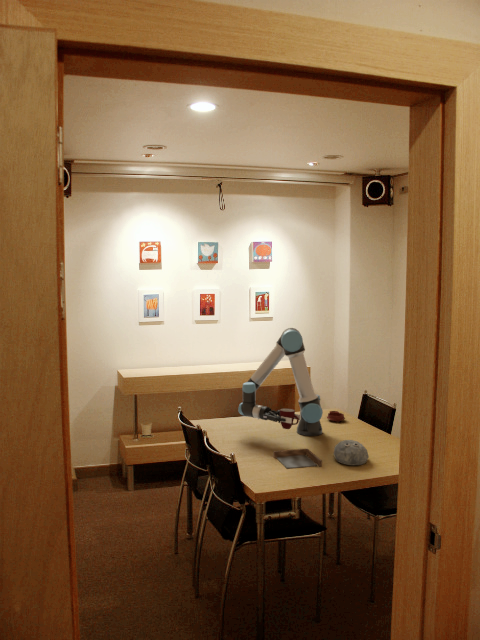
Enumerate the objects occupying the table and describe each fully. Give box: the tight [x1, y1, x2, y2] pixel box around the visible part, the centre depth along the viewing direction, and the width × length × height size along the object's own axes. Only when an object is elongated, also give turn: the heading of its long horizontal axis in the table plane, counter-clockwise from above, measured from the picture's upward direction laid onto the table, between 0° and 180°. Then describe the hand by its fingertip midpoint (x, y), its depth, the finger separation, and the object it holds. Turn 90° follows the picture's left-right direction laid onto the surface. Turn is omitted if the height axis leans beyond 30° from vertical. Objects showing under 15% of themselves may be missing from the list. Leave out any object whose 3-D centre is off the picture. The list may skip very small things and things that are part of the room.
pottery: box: [326, 410, 346, 423], centre depth 360 cm, size 12×20×4 cm, turn 176°
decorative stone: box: [333, 439, 370, 466], centre depth 280 cm, size 18×21×10 cm
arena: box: [272, 448, 323, 470], centre depth 278 cm, size 19×19×3 cm
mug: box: [279, 408, 300, 430], centre depth 299 cm, size 11×8×10 cm
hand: (295, 419), depth 296 cm, fingers closed on mug, 8 cm apart
